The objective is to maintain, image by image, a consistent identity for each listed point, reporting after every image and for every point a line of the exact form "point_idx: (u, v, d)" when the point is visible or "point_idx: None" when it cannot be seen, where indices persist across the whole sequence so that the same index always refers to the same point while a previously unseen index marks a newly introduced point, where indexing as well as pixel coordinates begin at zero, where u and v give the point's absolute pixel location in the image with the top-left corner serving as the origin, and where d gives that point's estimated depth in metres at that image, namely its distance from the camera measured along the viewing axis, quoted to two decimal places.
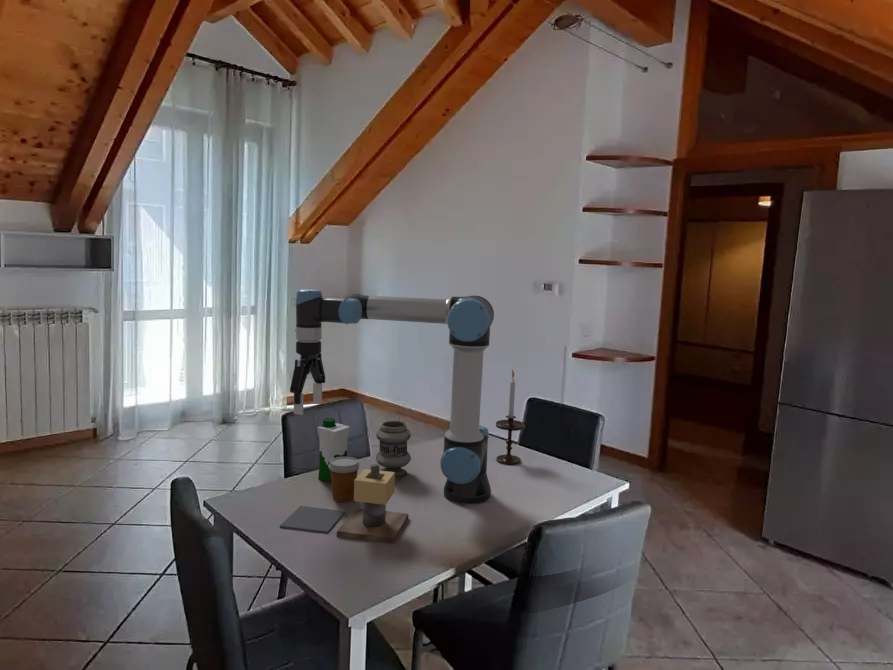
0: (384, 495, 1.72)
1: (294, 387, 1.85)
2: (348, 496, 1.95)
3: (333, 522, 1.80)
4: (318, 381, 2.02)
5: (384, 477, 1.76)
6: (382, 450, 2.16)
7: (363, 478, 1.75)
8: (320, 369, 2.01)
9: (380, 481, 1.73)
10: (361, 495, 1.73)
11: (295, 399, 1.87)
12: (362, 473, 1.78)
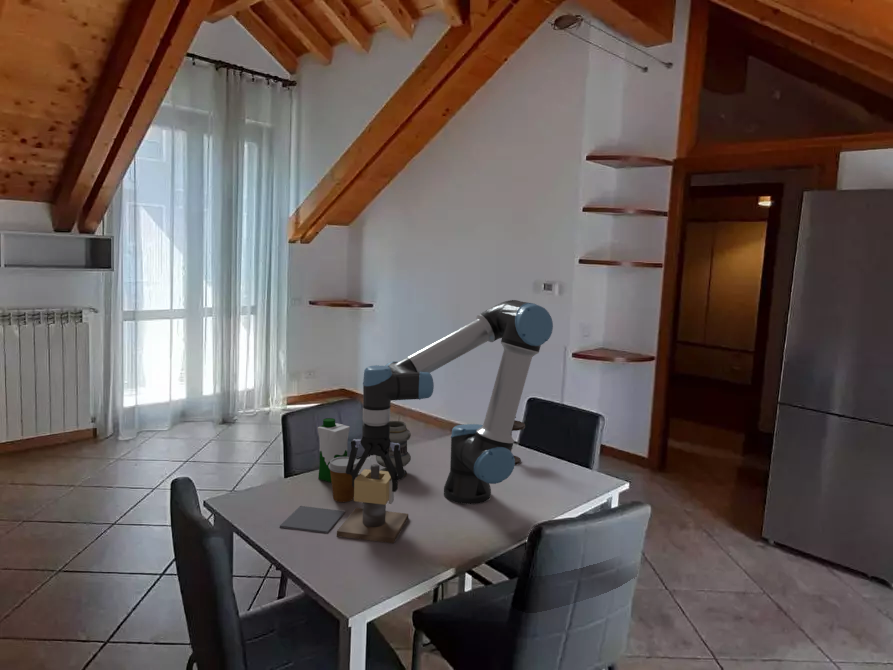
0: (384, 495, 1.72)
1: None
2: (348, 496, 1.95)
3: (333, 522, 1.80)
4: None
5: (384, 477, 1.76)
6: None
7: (363, 478, 1.75)
8: None
9: (380, 481, 1.73)
10: (361, 495, 1.73)
11: None
12: (362, 473, 1.78)
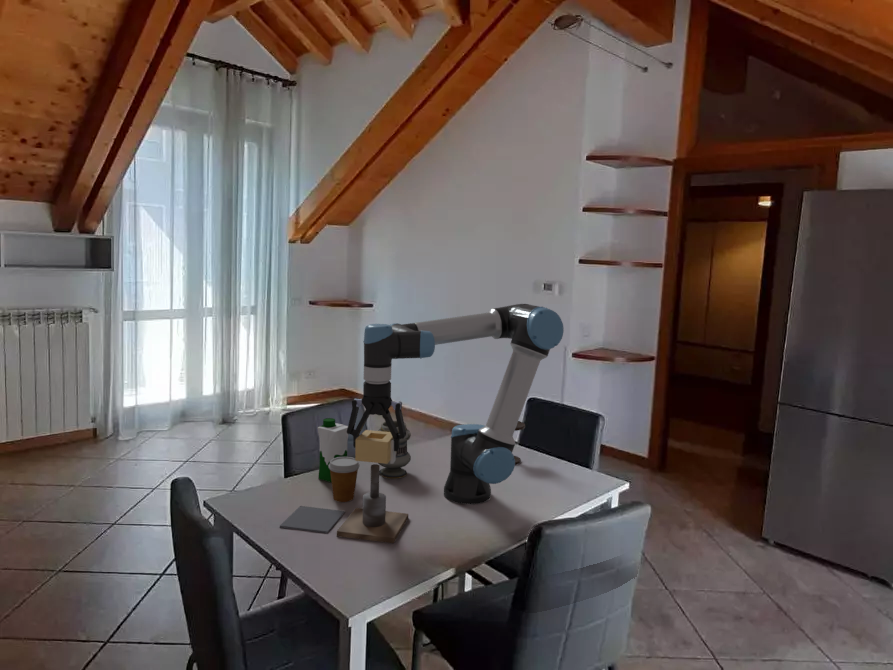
0: (386, 454, 1.71)
1: None
2: (348, 496, 1.95)
3: (333, 522, 1.80)
4: None
5: (386, 437, 1.75)
6: None
7: (364, 437, 1.73)
8: None
9: (382, 440, 1.71)
10: (362, 454, 1.72)
11: None
12: (363, 433, 1.77)
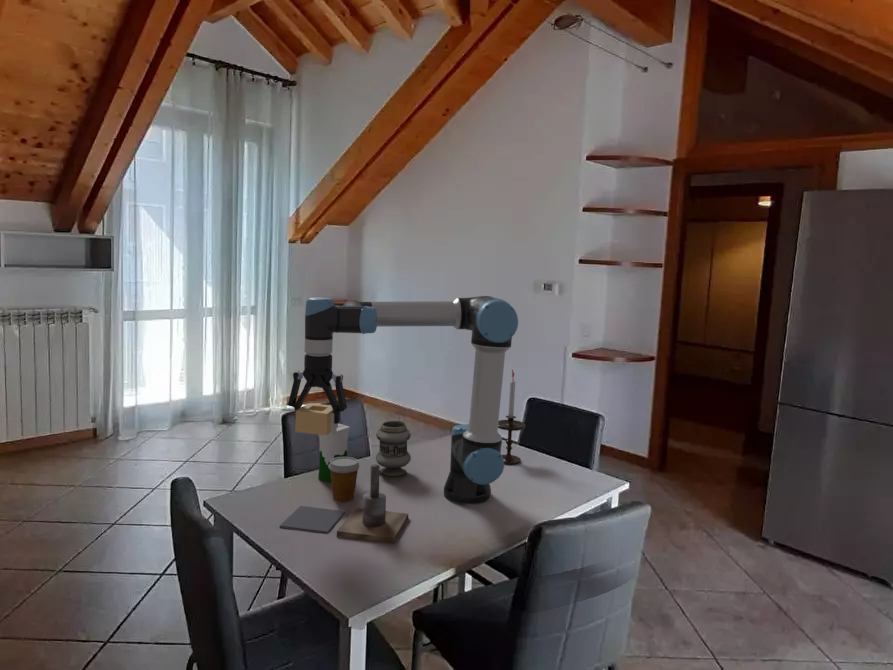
0: (325, 425, 1.73)
1: None
2: (348, 496, 1.95)
3: (333, 522, 1.80)
4: None
5: (326, 409, 1.76)
6: (382, 450, 2.16)
7: (305, 409, 1.75)
8: None
9: (321, 412, 1.73)
10: (302, 425, 1.74)
11: None
12: (305, 406, 1.79)
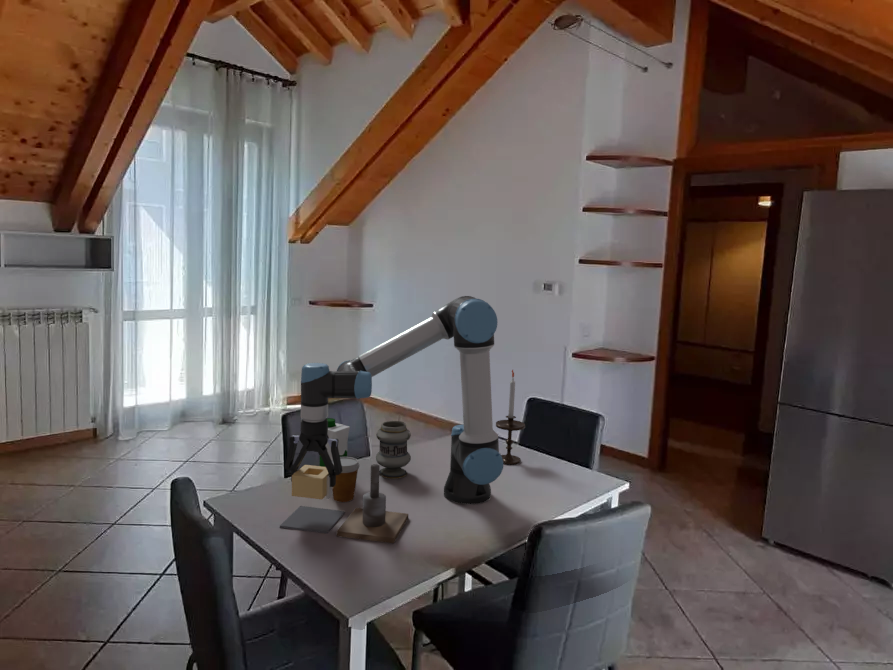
0: (321, 490, 1.75)
1: None
2: (348, 496, 1.95)
3: (333, 522, 1.80)
4: None
5: (322, 472, 1.79)
6: (382, 450, 2.16)
7: (301, 473, 1.78)
8: None
9: (317, 476, 1.76)
10: (298, 490, 1.77)
11: None
12: (301, 468, 1.82)
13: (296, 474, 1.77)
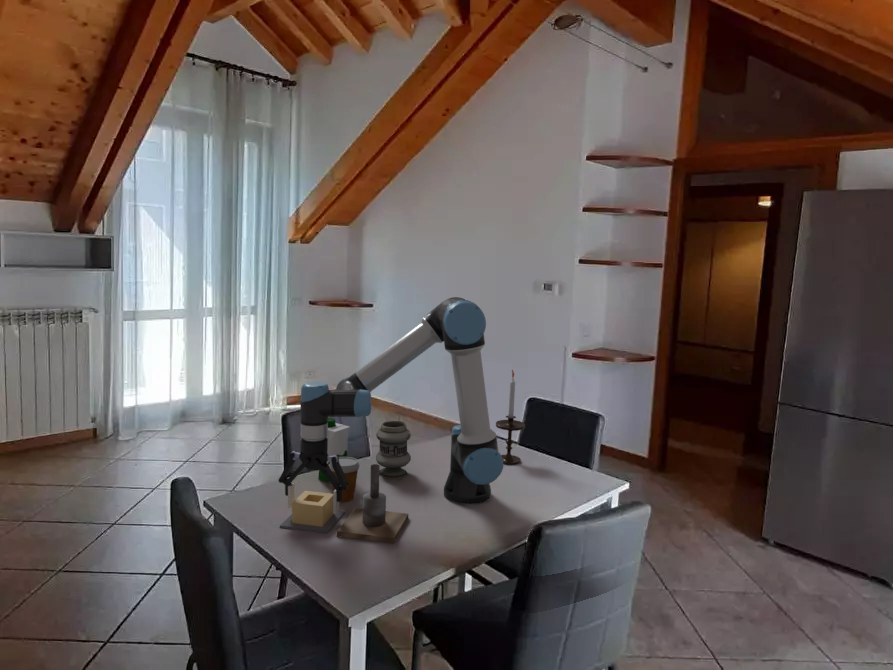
0: (321, 517, 1.77)
1: None
2: (348, 496, 1.95)
3: (333, 522, 1.80)
4: None
5: (322, 499, 1.80)
6: (382, 450, 2.16)
7: (301, 500, 1.79)
8: None
9: (317, 503, 1.77)
10: (299, 517, 1.78)
11: None
12: (301, 495, 1.83)
13: (296, 501, 1.78)
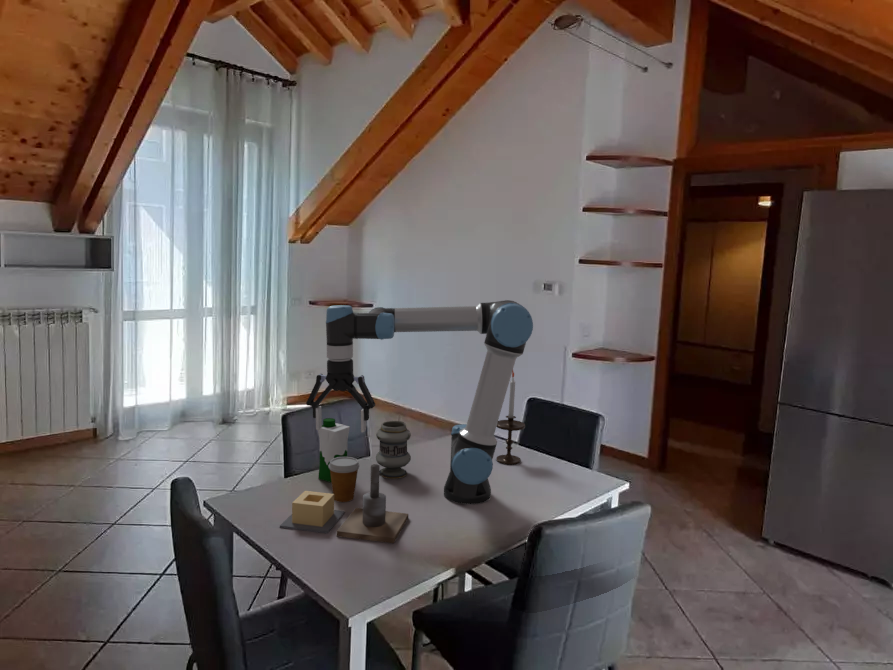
0: (321, 517, 1.77)
1: None
2: (348, 496, 1.95)
3: (333, 522, 1.80)
4: None
5: (322, 499, 1.80)
6: (382, 450, 2.16)
7: (301, 500, 1.79)
8: None
9: (317, 503, 1.77)
10: (299, 517, 1.78)
11: None
12: (301, 495, 1.83)
13: (296, 501, 1.78)
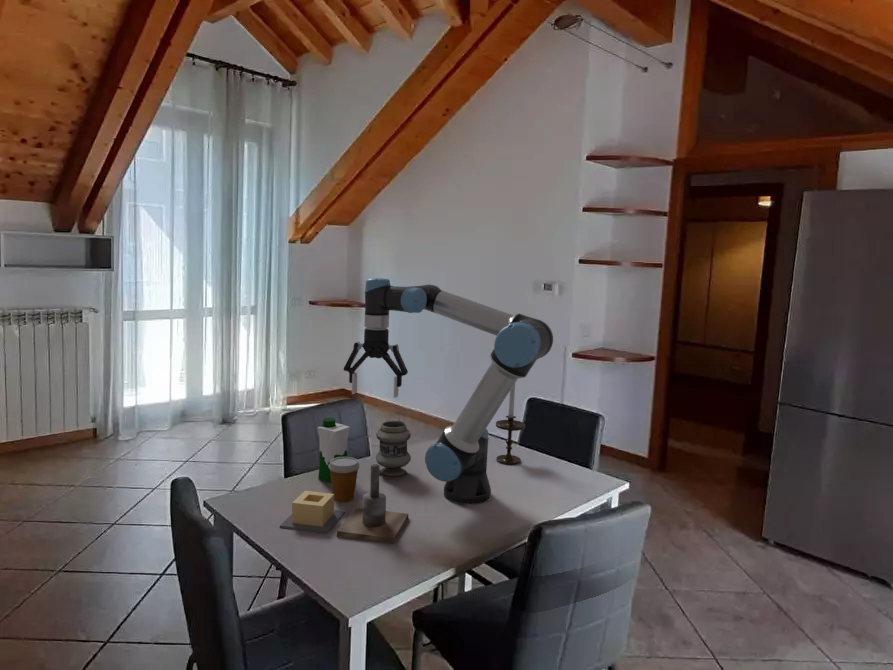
0: (321, 517, 1.77)
1: None
2: (348, 496, 1.95)
3: (333, 522, 1.80)
4: None
5: (322, 499, 1.80)
6: (382, 450, 2.16)
7: (301, 500, 1.79)
8: None
9: (317, 503, 1.77)
10: (299, 517, 1.78)
11: None
12: (301, 495, 1.83)
13: (296, 501, 1.78)
